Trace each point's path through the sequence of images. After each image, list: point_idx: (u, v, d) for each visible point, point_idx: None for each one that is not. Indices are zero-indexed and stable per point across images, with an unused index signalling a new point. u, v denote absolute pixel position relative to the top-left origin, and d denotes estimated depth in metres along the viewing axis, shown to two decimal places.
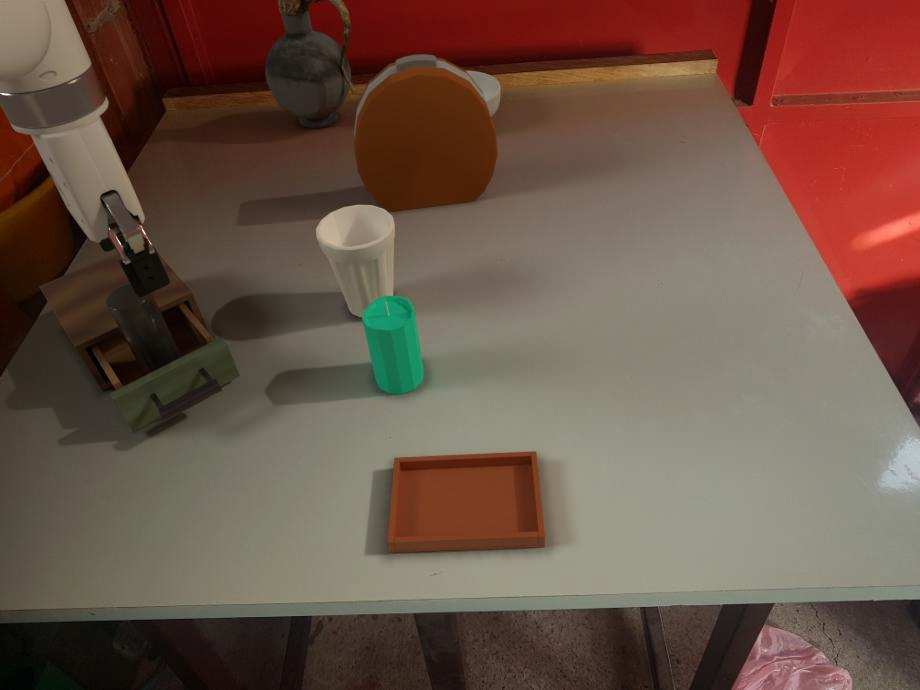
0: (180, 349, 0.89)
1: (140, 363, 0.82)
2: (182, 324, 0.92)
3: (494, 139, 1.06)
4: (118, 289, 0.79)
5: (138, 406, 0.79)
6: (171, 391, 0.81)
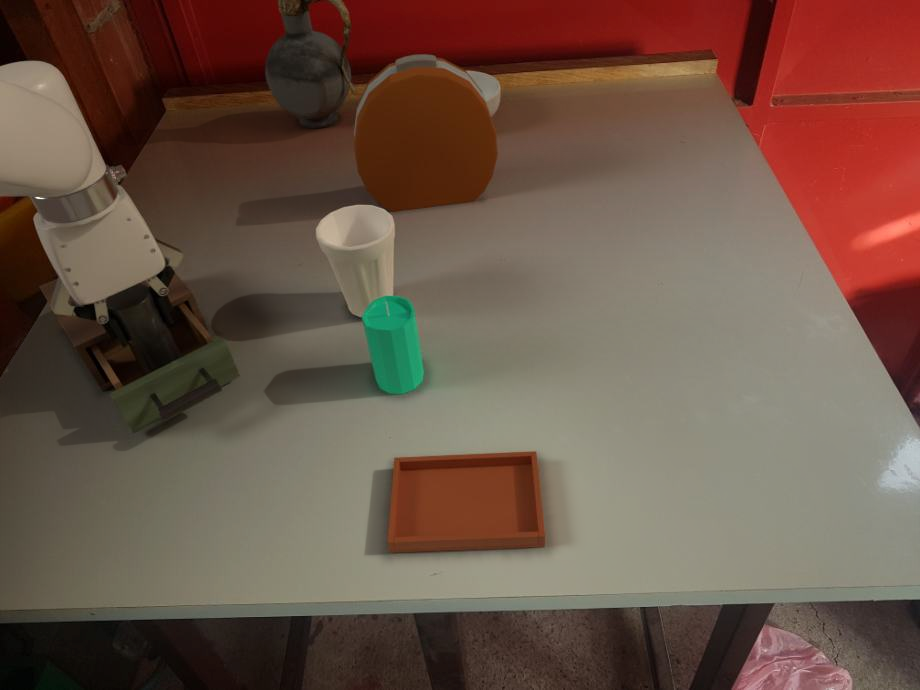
0: (180, 349, 0.89)
1: (140, 363, 0.82)
2: (182, 324, 0.92)
3: (494, 139, 1.06)
4: None
5: (138, 406, 0.79)
6: (171, 391, 0.81)
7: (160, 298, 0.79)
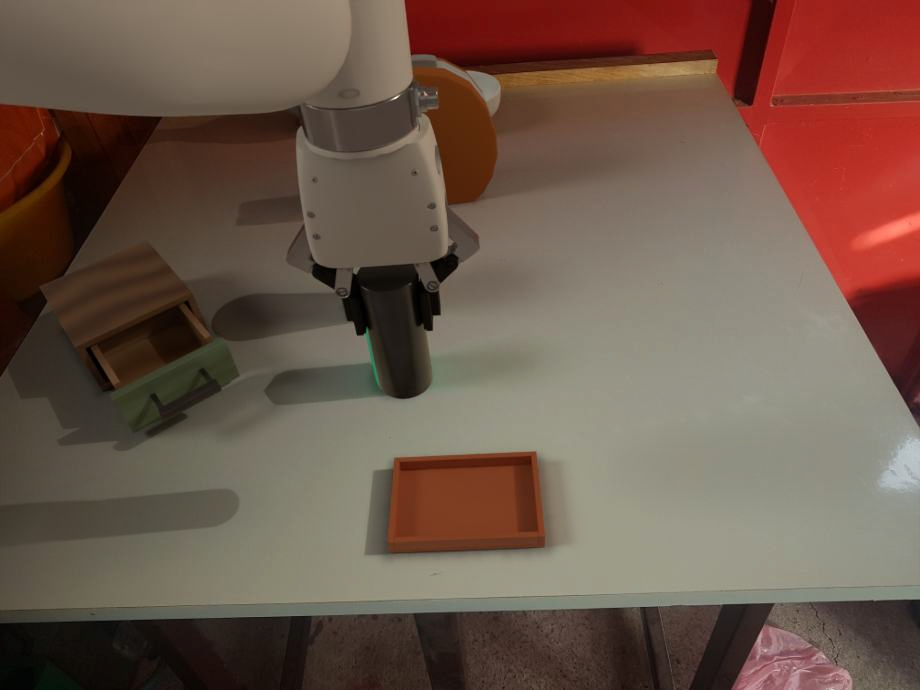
0: (180, 349, 0.89)
1: (374, 360, 0.59)
2: (182, 324, 0.92)
3: (494, 139, 1.06)
4: None
5: (138, 406, 0.79)
6: (171, 391, 0.81)
7: (425, 293, 0.53)
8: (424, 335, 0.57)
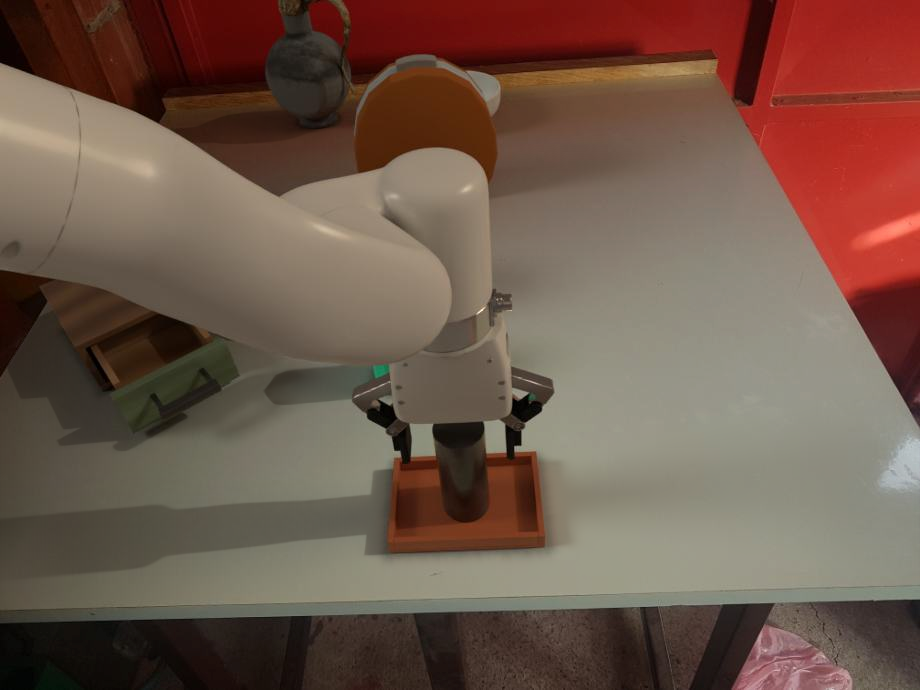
0: (180, 349, 0.89)
1: (441, 490, 0.68)
2: (182, 324, 0.92)
3: (494, 139, 1.06)
4: None
5: (138, 406, 0.79)
6: (171, 391, 0.81)
7: (511, 432, 0.61)
8: (486, 473, 0.67)
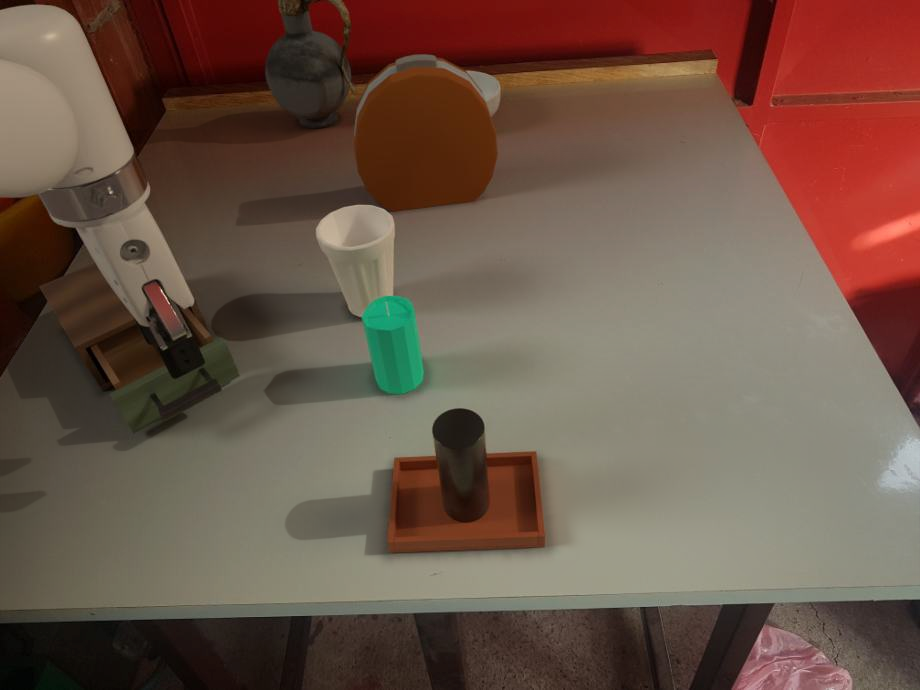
0: None
1: (441, 490, 0.68)
2: None
3: (494, 139, 1.06)
4: (454, 411, 0.64)
5: (138, 406, 0.79)
6: (171, 391, 0.81)
7: (158, 346, 0.60)
8: (486, 473, 0.67)
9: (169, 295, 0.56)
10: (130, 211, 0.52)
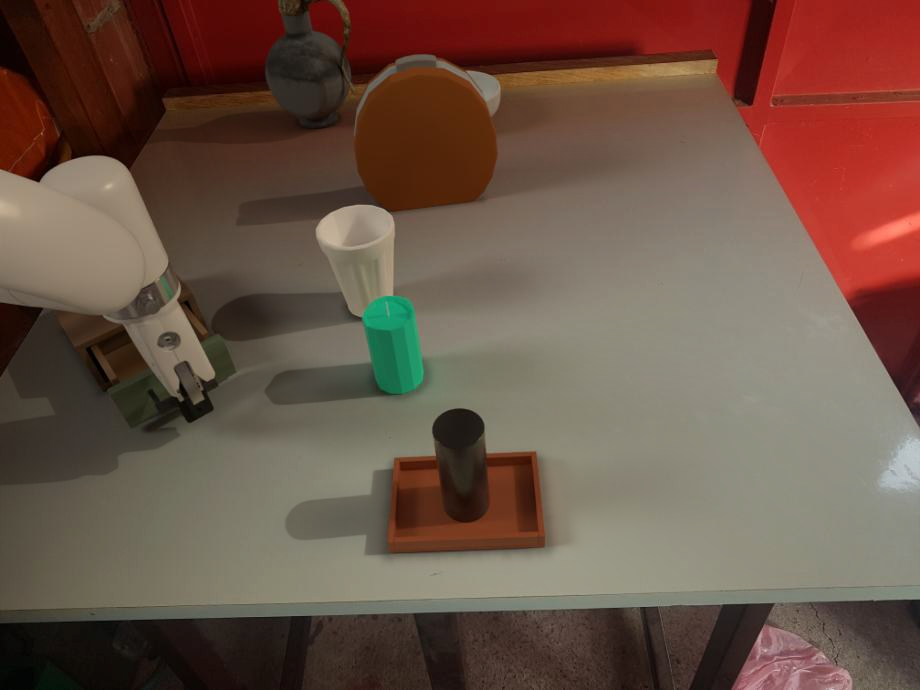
0: None
1: (441, 490, 0.68)
2: None
3: (494, 139, 1.06)
4: (454, 411, 0.64)
5: (135, 402, 0.80)
6: None
7: (176, 398, 0.75)
8: (486, 473, 0.67)
9: (195, 372, 0.69)
10: (165, 309, 0.65)
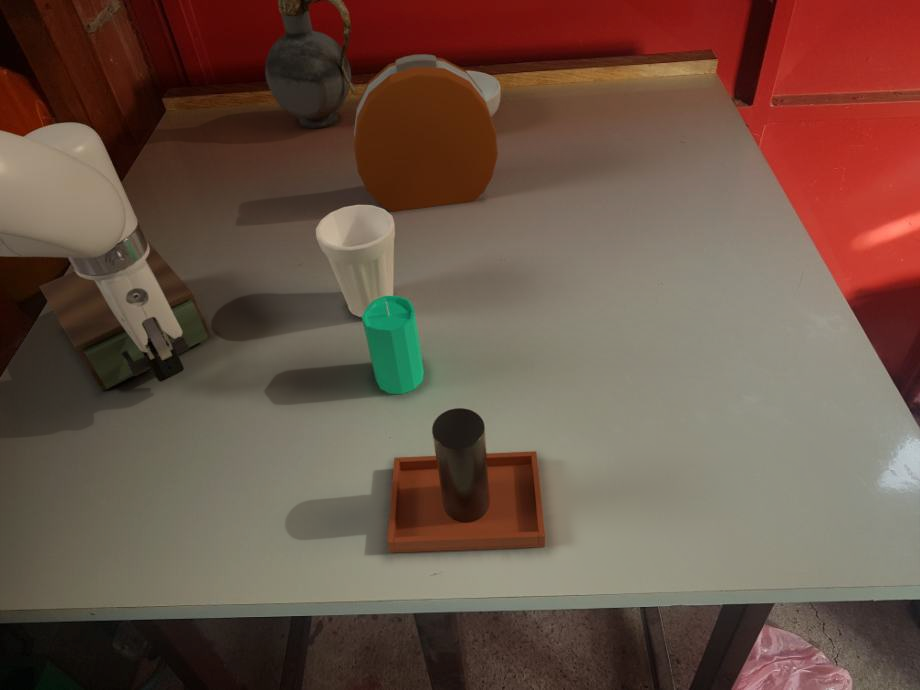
0: None
1: (441, 490, 0.68)
2: None
3: (494, 139, 1.06)
4: (454, 411, 0.64)
5: (110, 362, 0.85)
6: None
7: (147, 357, 0.80)
8: (486, 473, 0.67)
9: (163, 329, 0.74)
10: (134, 267, 0.70)
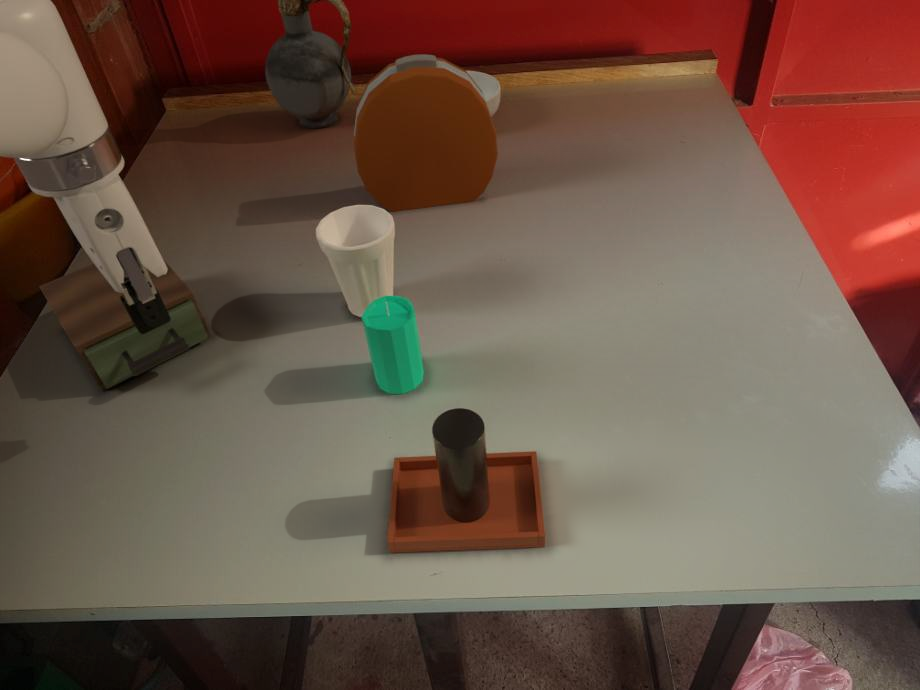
0: None
1: (441, 490, 0.68)
2: None
3: (494, 139, 1.06)
4: (454, 411, 0.64)
5: (110, 362, 0.85)
6: (142, 350, 0.87)
7: (125, 302, 0.66)
8: (486, 473, 0.67)
9: (143, 263, 0.60)
10: (104, 182, 0.56)
